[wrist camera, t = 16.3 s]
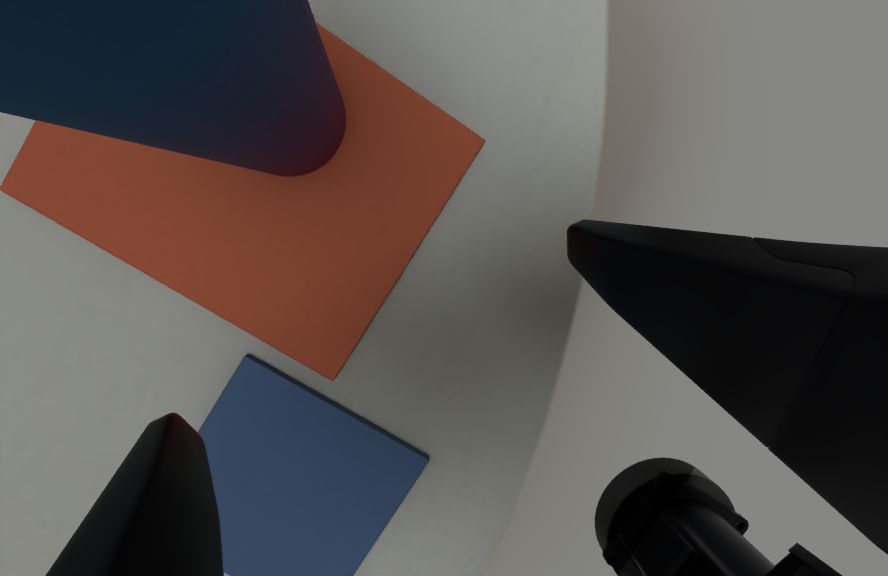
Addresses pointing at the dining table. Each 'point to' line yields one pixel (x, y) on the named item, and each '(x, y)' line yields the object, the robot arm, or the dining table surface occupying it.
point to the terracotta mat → (266, 213)
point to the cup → (178, 77)
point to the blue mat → (299, 477)
